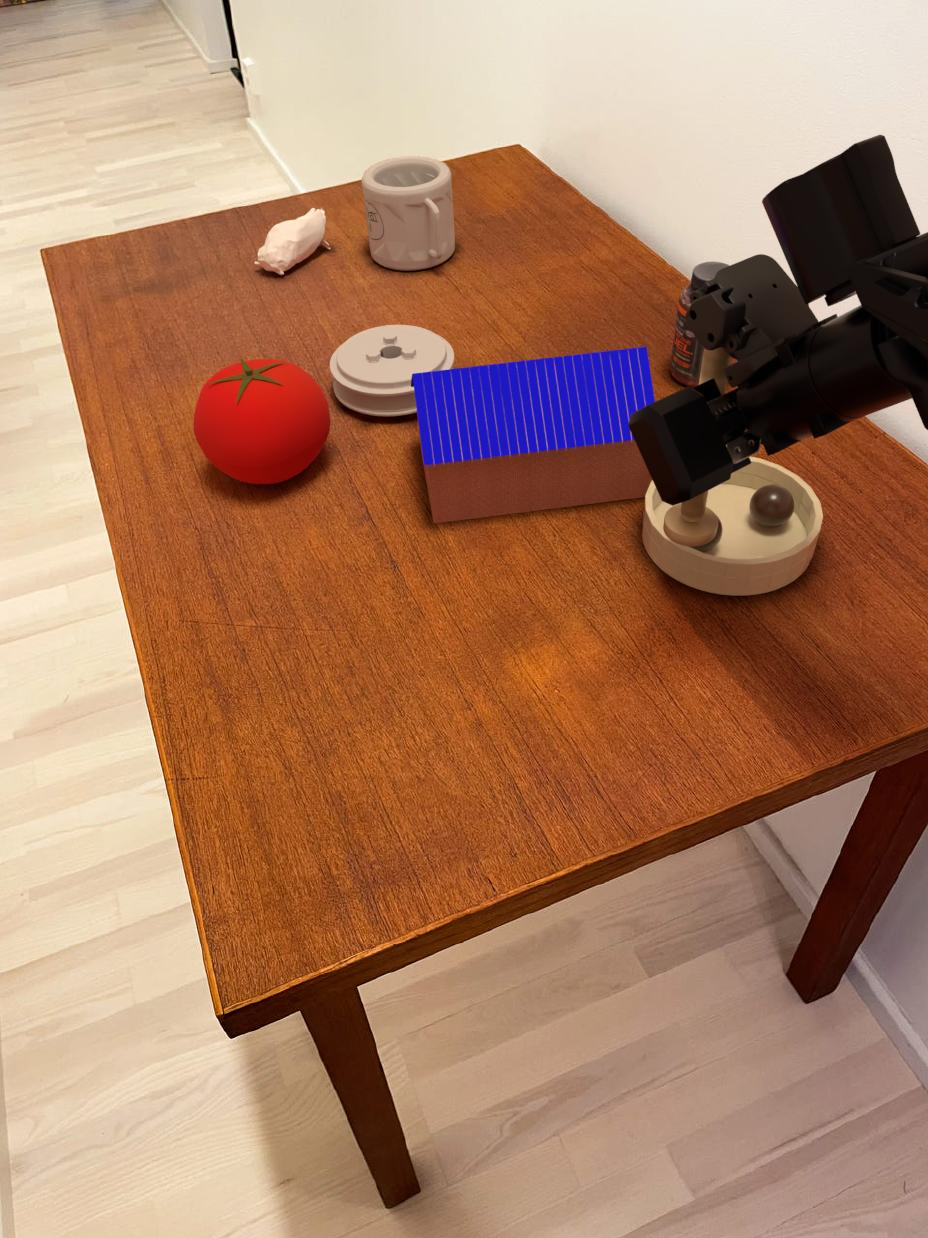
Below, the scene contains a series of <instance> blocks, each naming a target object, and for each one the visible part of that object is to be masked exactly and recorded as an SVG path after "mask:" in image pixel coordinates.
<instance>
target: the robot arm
mask: <svg viewBox="0 0 928 1238" xmlns="http://www.w3.org/2000/svg"><path fill="white" fill-rule="evenodd" d="M761 203H762V206H763V208H764V210H765V213H766V215H767V218H768V220H769V222H770V225H771V227H772V230H773V232H774V234H775V236H776V239H777V241H778V244H779V246H780V248H781V251H782V253H783V255H784V258H785V260H786V263H787V265H788V267H789V270H790V273H791V274H792V277H793V279H792V278H791V277H790V276H789V275H788V273H787V272H786V271H785V270H784V268H783V267H782V266H781V265H780V263H778V262H777V260H775V258H774V257H772V256H770V255H768V254H762V253H760V254H755V255H752V256H750V257H747V258H745V259H743V260H741V261H738V262H735V263H733V264H729V266H728V267H725V268H723V269H721V270H719V271H718V272H717V274H716V275H715V277H714V279H712V280H709V281H707V282H705V284H704V285H703V287H702V288H701V289H699V290H697V291H694V292H692V293H691V294H690V303H691V305H690V307H689V309H688V310H687V312H686V314H685V320H686V325H687V326H688V328H689V329H690V330H691V331H692V333H693V334H694V335H695V337H696V338H697V339H698V340H699V342H700V343H701V344H702V346H703V347H704V348H705V349H706V350H711V351H712V350H715V349H717V348H721V347H722V348H723V349H724V350H725V351H726V353H727V354H728V355H729V356H731V359H734V360H736V362H734V363H732V364H730V366H728V367H726V368H724V369H723V370H724V372H725V375H726V377H727V382H728V384H729V386H730V387H731V388H735V389H732V390H730V391H728V392H725V394H724V395H721V392H720V390H719V388H718V385H717V383H716V381H715V379H714V378H713V379H710V380H708V381H706V382H704V383H702V384H700V385H697V386H695V387H691V386H686V387H684V388H683V389H680V390H678V391H675V392H674V393H672V394H669V395H666V396H664V397H663V398H660V399H658V400H655V402H654V403H652V404H649V405H647V406H645V407H643V408H642V409H640V410H638V411H636V412H634V413H632V414H631V417H630V421H629V424H628V427H629V429H630V431H631V433H632V435H633V438H634V440H635V442H636V444H637V447H638V449H639V451H640V453H641V455H642V458H643V460H644V462H645V464H646V467H647V469H648V471H649V473H650V475H651V476H650V479H651V481H652V480H653V482H654V484H655V487H656V489H657V491H658V493H659V495H660V498H661V500H662V501H663V502H665V503H667V504H670V505H672V506H674V505H676V504H679V503H682V502H685V501H688V500H691V499H693V498H694V497H696V496H698V495H700V494H702V493H704V492H706V491H708V490H710V489H712V488H714V487H716V486H718V485H720V484H722V483H724V482H725V481H727V480H729V479H730V478H731V473H733V472H735V471H737V470H739V469H741V468H743V467H745V466H747V465H749V464H751V460H750V458H749V457H750V456H751V457H753V456H755V455H757V453H759V452H760V450H761V447H762V446H763V448H764V451H765V453H766V455H767V456H768V457H769V456H771V455H775V454H777V453H780V452H782V451H783V450H786V449H788V448H789V447H792V446H793V445H795V444H797V443H799V442H802V441H803V440H805V439H807V438H808V439H809V438H810V437H812V438H813V439H814V440H815V439H818V438H821V437H824V436H826V435H828V434H830V433H832V432H834V431H836V430H838V429H840V428H842V427H843V426H846V425H847V424H849V423H851V422H853V421H856V420H859V419H861V418H864V417H867V416H868V415H871V414H874V413H877V412H880V411H882V410H885V409H888V408H889V407H893V406H896V405H898V404H900V403H904V402H906V401H910V400H911V399H912V401H913V404H914V406H915V408H916V411H917V414H918V416H919V418H920V421H921V423H922V425H923V428H924V429H925V430H926V431H928V231H927V232H925V233H921V230H920V229H919V227H918V224H917V222H916V219H915V217H914V214H913V212H912V209H911V207H910V204H909V202H908V200H907V197H906V195H905V192H904V190H903V187H902V185H901V183H900V180H899V178H898V175H897V170H896V166H895V159H894V156H893V153H892V151H891V148H890V145H889V144H888V140H887V139H886V136H885V135H883V134H878V135H875V136H872V137H869V138H867V139H863V140H861V141H858V142H856V143H853V144H852V145H851V146H849V147H848V148H846V149H845V150H844V151H842V152H841V153H839V154H837V155H835V156H833V157H831V158H829V159H827V160H826V161H824V162H821V163H820V164H818V165H816V166H814V167H812V168H810V169H809V170H807V171H806V172H804V173H802V174H799V175H796V176H793V177H791V178H788V179H786V180H784V181H782V182H781V183H780V184H778V185H776V187H774V188H773V189H771V190H770V191H769V192H768V193H766V195H765V196H764V197H763V198H762V201H761ZM793 280H794V281H795V282H794V281H793ZM854 296H856V297H857V299H858V301H859V303H860V305H858V306H856V307H854V308H853V309H851V310H850V309H849V311H847V312H845V313H843V314H841V315H839V316H838V314H837V313H835V314H832V315H830V316H828V317H826V318H823V319H822V320H820V321H819V320H818V318H817V317H816V315H815V313H814V312H813V310H812V309H811V307H810V304H811V303H812V302H815V301H817V300H819V299H820V298H823V297H824V301H825V303H826V305H827V307H831V306H834V305H836V304H839V303H841V302H843V301H845V300H847V299H849V298H852V297H854Z"/></svg>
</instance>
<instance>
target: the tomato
mask: <svg viewBox="0 0 928 1238" xmlns="http://www.w3.org/2000/svg"><path fill="white" fill-rule="evenodd" d="M330 431H331V414H330V405H329V402H328V400H327V398H326V395H325V392H324V390H323V389H322V387H321V386H320V385H319V383H318V382H317V381H316V379H315V378H313V376H312V375H311V374H309V373H308V372H307V371H305V369H303V368H302V367H301V366H299V365H297V364H295V363H292V362H290V361H286V360H282V359H275V358H274V359H273V358H258V359H257V358H256V359H248V360H244V359H243V358H242V357H240V361H238V362H235V363H232V364H230V365H227V366H225V367H223V368H221V369H220V370H218V371H216V372H215V373H214V374H213V375H212V376H211V377H210V378H208V379H207V381H206V382H205V383H204V385H203V386H202V387H201V389H200V392H199V396H198V398H197V400H196V404H195V409H194V413H193V434H194V437H195V440H196V443H197V445H198V446H199V448H200V449H201V451H202V453H203V455H204V456H205V458H206V459H207V460H208V461H209V462H210V463H211V465H213V466H214V467H215V468H217V470H219V471H220V472H221V473H224V474H225V475H227V476H229V477H231V478H233V479H234V480H237V481H238V482H239V481H240V482H242V483H247V484H251V485H275V484H279V483H282V482H285V481H288V480H290V479H292V478H294V477H295V476H298V475H299V474H301V472H303V471H304V470H306V469H307V468H308V467H309V466H310V465H311V464H312V462H313V461H315V459H316V458H317V457H318V455H319V454H320V453H321V452H322V450H323V448H324V446H325V444H326V443H327V440H328V437H329V435H330Z"/></svg>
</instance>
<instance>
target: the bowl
mask: <svg viewBox="0 0 928 1238" xmlns="http://www.w3.org/2000/svg"><path fill="white" fill-rule="evenodd" d="M749 458H750V460H751V464H749V465H747V466H745V467H743V468H741V469H739V470H737V471H735V472H733V473H731V478H730V479H729V480H727V481H725V482H724V483H722V484H720V485H718V486H716V487H714V488H712V489H710V490H708V496H707V502H706V507H707V508H709V509H711V510H712V511H713V512H714V513H715V514H716V515H717V516H718V518H719V519H720V521H721V523H722V529H723V532H722V537H721V539H720V541H719V543H718V544H717V545H716V546H715V547H714V548H713V549H711V550H709V551H707V552H700V551H698V550H695V549H693V548H691V547H688V546H683V545H680V544H677V543H675V542H673V541H672V540H670V539H669V538H668V537H667V536H666V535H665V533H664V530H663V524H664V517H665V514H666V512H667V511H668V510H669V509H670V508H671V507H673V506H672V505H670V504H667V503H665V502H663V501H662V500H661V498H660V495H659V493H658V491H657V489H656V487H655V484H654V482H653V480H652V479H651V480H650V485H649V487H648V490H647V492H646V494H645V497H644V501H643V512H642V519H641V526H642V527H641V537H642V543H643V545H644V546H643V547H644V549H645V551H646V553H647V555H648V556H649V558H650V559H651V560H652V562H653V563H654V564H655V565H656V566H657V567H658V568H659V569H660V570H661V571H662V572H664V573H665V574H666V575H668V576H669V577H671V578H672V579H674V580H675V581H678V582H679V583H681V584H684V585H685V586H687V587H690V588H693V589H696V590H699V591H703V592H706V593H710V594H717V595H721V596H722V595H723V596H730V597H731V596H733V597H735V596H739V597H740V596H741V597H742V596H743V597H744V596H755V595H761V594H762V595H763V594H767V593H770V592H773V591H776V590H779V589H781V588H785V587H786V586H788V585H789V584H791V583H793V582H794V581H795V580H797V579H798V578H799V577H800V576H802V575H803V574H804V572H805V571H806V570H807V569H808V566H809V565H810V563H811V561H812V559H813V557H814V554H815V551H816V546H817V544H818V540H819V536H820V533H821V529H822V525H823V520H824V513H823V508H822V504H821V501H820V499H819V497H818V496H817V494H816V493H815V491H814V490H813V488H812V487H811V486H810V485H809V484H808V483H807V482H806V481H805V480H804V479H802V477H800V476H799V475H798V474H796V473H795V472H792V471H791V470H789V469H787V468H785V467H783V465H779V464H777V463H775V462H771V461H769V460H766V459H763V458H759V457H755V456H750V457H749ZM766 485H779V486H782V487H784V488H785V489H787V490H788V491H789V492H790V493H791V495H792V497H793V500H794V511H793V514H792V516H791V518H790V519H789V520H788V521H787V522H786V523H785V524H783V525H781V526H779V527H775V528H767V527H763V526H761V525H759V524H758V523H756V522H755V521H754V519H753V518H752V516H751V514H750V510H749V504H750V500H751V498H752V496H753V494H754V493H755V492H756V491H757V490H758V489H760V488H761V487H763V486H766ZM679 504H681V503H679ZM676 505H678V504H676ZM674 506H675V505H674Z"/></svg>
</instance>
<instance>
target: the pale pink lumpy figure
mask: <svg viewBox="0 0 928 1238" xmlns="http://www.w3.org/2000/svg"><path fill="white" fill-rule="evenodd" d="M326 216H327V215H325V210H324V209H323V207H321V208H317V209H316V208H315V207H312V208H310V210H309V211H307V213H306V214H305V215H302V216H299V217H296V219H295V218H294V219H289V220H285V221H281V222H280V223H276V224H275V225H274V226H272V227H271V229H270V230H269V231H268V232H267V235H266V237H265V241H264V244H263V245H262V246H261V247H260V248H259V249H258V251H257V261H254V265H257V266H259V267H262V268H263V269H264V270H265V271H267V272H274V273H276V274H278V275H280V276H283V275H285V273H284V272H286V271H288V270H291V268H292V267H294V266H295V265H296V264H300V263H301V262H302V261H304V260H306V259H307V258H308V257H310V256H311V255H312V254H313V253H314V252H315V251H316V250H317V248H318V247H320V246H323V248H326V249H327V250H329V251H330V250H331V249H332V247H330V244H329V243H328V242H327V240H326V239H325V238H324V235H325V232H326V224H327V217H326Z"/></svg>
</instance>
